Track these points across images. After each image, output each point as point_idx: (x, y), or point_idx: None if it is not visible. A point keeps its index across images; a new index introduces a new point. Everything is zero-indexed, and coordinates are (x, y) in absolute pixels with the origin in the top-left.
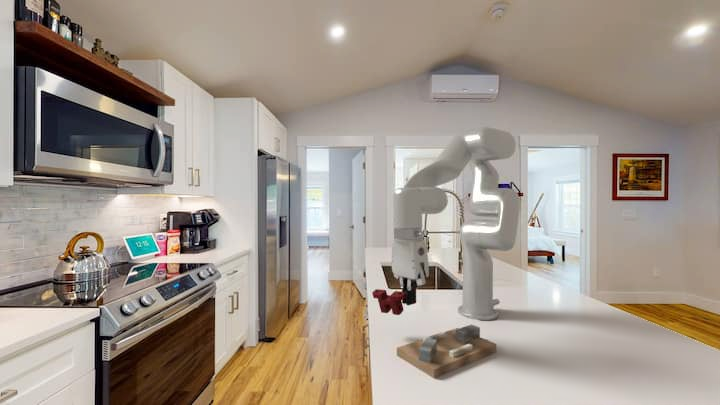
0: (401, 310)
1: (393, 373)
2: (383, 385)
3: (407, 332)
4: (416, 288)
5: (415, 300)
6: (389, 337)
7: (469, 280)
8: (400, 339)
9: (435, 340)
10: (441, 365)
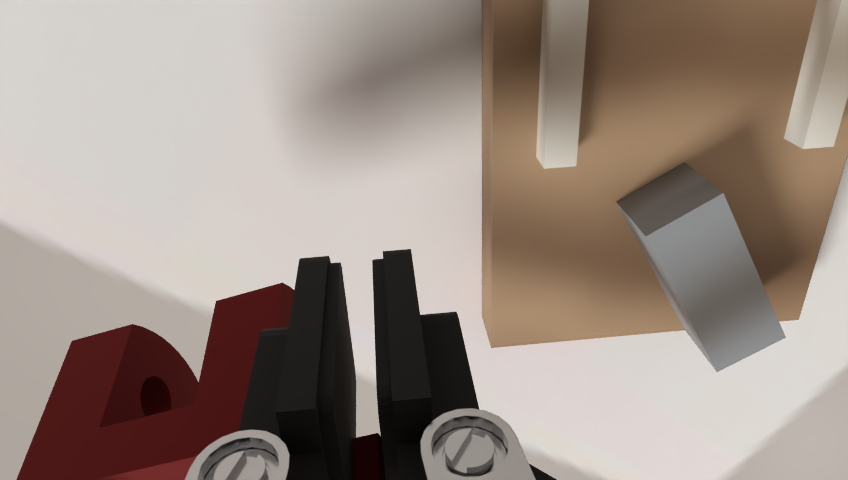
0: None
1: (604, 407)
2: (642, 472)
3: (190, 33)
4: (502, 443)
5: (454, 313)
6: (226, 220)
7: None
8: (293, 170)
9: (720, 207)
10: (808, 262)
